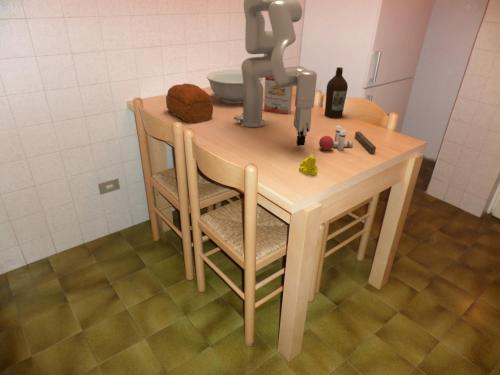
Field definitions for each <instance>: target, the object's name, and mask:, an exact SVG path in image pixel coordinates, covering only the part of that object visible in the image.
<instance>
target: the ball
mask: <svg viewBox="0 0 500 375" xmlns="http://www.w3.org/2000/svg"><path fill="white" fill-rule="evenodd" d="M333 144H334V139H333V138H332V136H329V135H323V136H322V137H321V138H320V139H319V142H318V145H319V147H320V149H322V150H324V151H329V150H331V149H332V148H334V147H333Z"/></svg>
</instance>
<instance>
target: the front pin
mask: <svg viewBox="0 0 500 375" xmlns="http://www.w3.org/2000/svg"><path fill="white" fill-rule="evenodd" d="M353 146H354V142H353V141H352V140H350V141H349V140H346V141H345V142H344V148H351V147H353ZM332 148H338V142H334V144H333V147H332Z"/></svg>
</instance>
